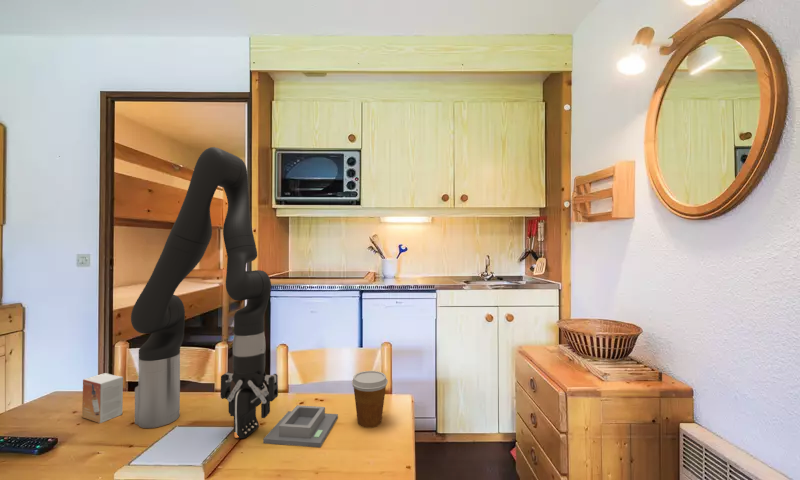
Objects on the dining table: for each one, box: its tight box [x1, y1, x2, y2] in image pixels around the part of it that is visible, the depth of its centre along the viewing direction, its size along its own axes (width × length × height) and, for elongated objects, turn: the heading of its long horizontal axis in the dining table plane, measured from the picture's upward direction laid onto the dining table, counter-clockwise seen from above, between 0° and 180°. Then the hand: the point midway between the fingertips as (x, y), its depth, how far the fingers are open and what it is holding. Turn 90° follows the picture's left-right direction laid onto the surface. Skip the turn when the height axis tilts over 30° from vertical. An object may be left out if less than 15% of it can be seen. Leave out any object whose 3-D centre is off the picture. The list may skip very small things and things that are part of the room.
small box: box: [81, 372, 124, 424], centre depth 98 cm, size 8×6×10 cm
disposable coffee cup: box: [351, 370, 388, 429], centre depth 95 cm, size 10×10×12 cm
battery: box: [233, 388, 262, 439], centre depth 89 cm, size 7×4×11 cm, turn 168°
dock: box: [262, 405, 339, 448], centre depth 91 cm, size 14×14×4 cm
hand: (249, 415), depth 89 cm, fingers open, 7 cm apart
